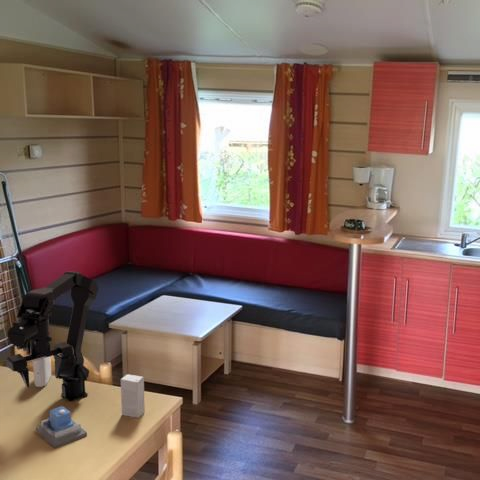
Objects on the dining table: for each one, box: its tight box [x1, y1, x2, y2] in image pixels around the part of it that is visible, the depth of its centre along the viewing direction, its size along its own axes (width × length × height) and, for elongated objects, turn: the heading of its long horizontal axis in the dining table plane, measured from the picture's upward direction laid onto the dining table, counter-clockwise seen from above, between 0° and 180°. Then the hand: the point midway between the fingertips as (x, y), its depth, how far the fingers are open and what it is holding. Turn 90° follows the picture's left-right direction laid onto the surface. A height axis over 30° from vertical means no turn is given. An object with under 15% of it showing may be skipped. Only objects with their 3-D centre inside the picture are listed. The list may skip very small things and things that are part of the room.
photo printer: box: [32, 356, 52, 388], centre depth 205 cm, size 10×4×12 cm, turn 5°
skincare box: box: [120, 373, 146, 419], centre depth 184 cm, size 6×4×12 cm
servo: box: [47, 405, 74, 431], centre depth 172 cm, size 4×8×7 cm, turn 43°
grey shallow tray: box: [35, 418, 88, 449], centre depth 173 cm, size 10×12×4 cm
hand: (42, 382), depth 179 cm, fingers open, 9 cm apart
